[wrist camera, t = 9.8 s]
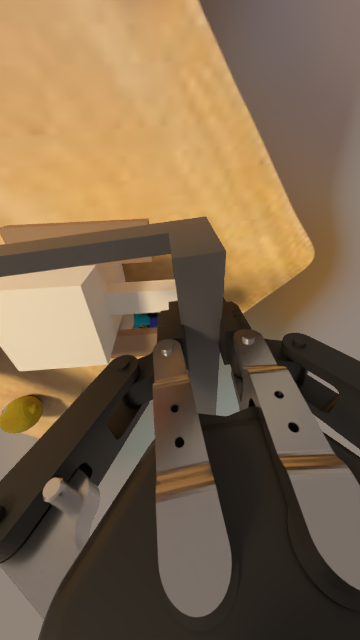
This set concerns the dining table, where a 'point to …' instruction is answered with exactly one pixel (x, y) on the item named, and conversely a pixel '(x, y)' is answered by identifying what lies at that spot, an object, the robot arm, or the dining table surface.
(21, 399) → the lemon
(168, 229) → the grey u-shaped bracket
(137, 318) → the toy figure
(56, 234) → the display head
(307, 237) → the dining table surface
